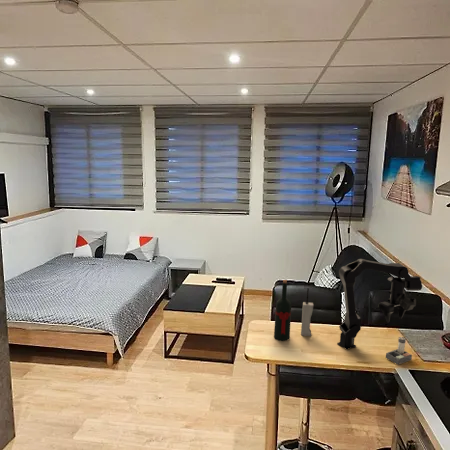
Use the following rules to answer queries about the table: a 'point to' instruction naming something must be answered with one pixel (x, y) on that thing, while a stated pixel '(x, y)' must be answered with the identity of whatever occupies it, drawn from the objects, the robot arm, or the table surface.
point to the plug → (401, 345)
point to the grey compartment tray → (398, 357)
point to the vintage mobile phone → (306, 317)
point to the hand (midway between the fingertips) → (394, 320)
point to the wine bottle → (283, 316)
